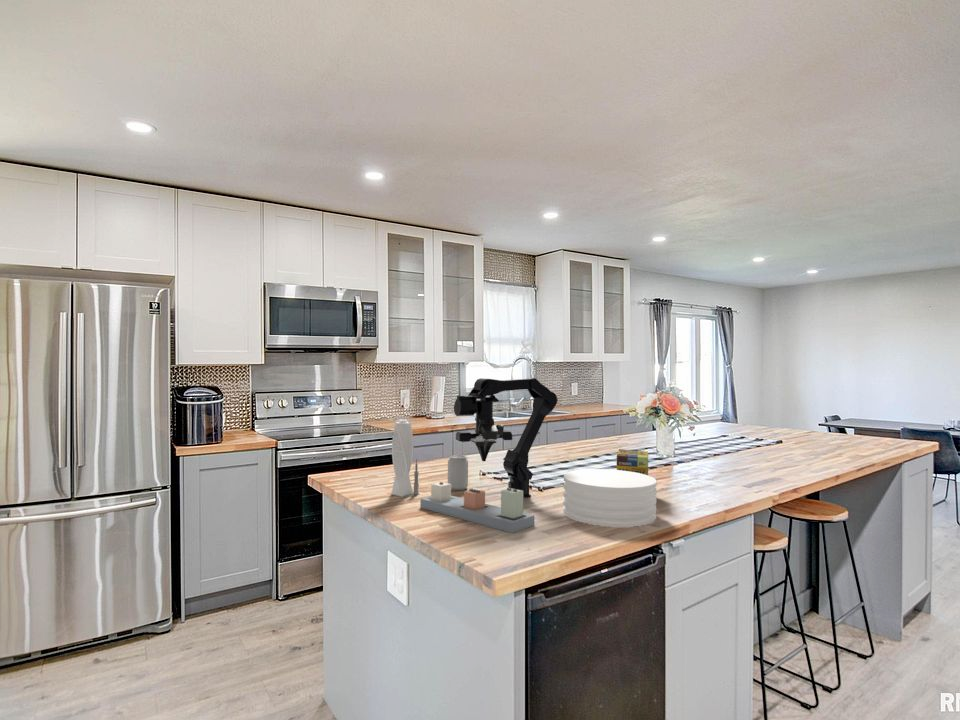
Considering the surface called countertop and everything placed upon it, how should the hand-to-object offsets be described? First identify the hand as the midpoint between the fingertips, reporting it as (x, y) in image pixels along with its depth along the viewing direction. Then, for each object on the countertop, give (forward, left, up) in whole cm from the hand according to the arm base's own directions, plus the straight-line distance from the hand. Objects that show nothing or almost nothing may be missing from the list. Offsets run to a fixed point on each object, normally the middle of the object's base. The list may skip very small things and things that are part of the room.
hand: (483, 461), depth 185 cm
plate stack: (-32, +27, -13) cm, 44 cm away
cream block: (+16, +6, -13) cm, 21 cm away
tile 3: (+9, +18, -13) cm, 24 cm away
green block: (+2, +31, -10) cm, 33 cm away
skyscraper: (+25, -14, -14) cm, 32 cm away
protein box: (-52, +10, -13) cm, 55 cm away
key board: (+9, +18, -13) cm, 24 cm away
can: (+4, -18, -13) cm, 23 cm away
